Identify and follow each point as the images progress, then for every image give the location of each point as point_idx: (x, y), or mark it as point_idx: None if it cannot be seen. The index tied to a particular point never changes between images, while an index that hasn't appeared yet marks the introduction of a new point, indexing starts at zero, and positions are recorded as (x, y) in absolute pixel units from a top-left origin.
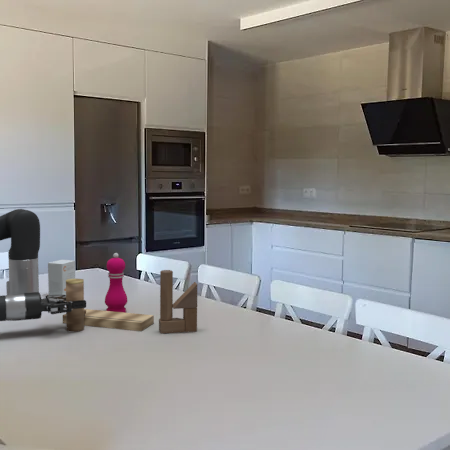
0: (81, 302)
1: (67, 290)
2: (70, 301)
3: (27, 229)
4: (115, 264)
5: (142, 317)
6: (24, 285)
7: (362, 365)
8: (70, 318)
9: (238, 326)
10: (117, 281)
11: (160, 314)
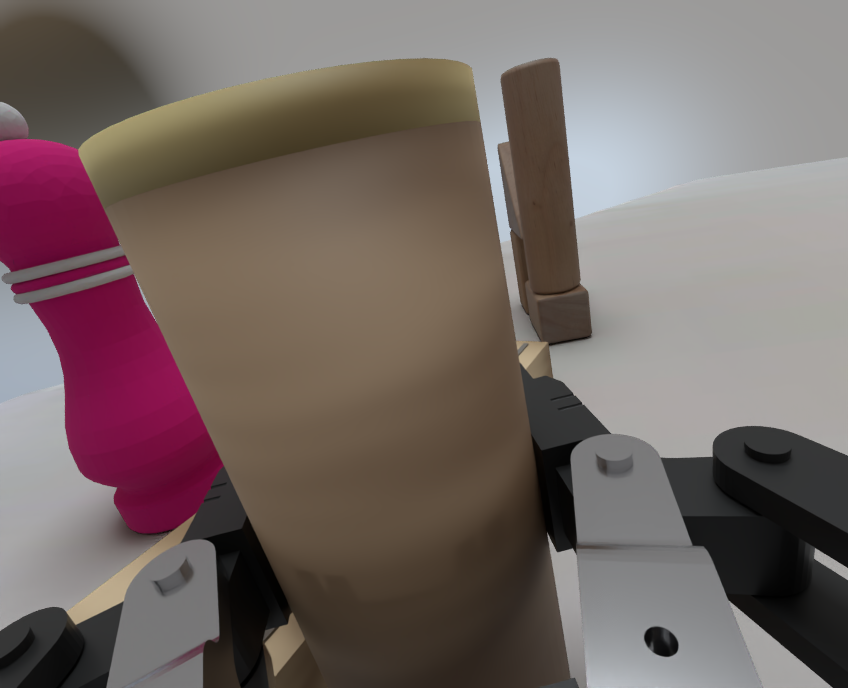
0: (561, 391)
1: (430, 332)
2: (634, 454)
3: None
4: (83, 169)
5: None
6: None
7: (748, 188)
8: None
9: (508, 271)
10: (135, 298)
11: (561, 270)
